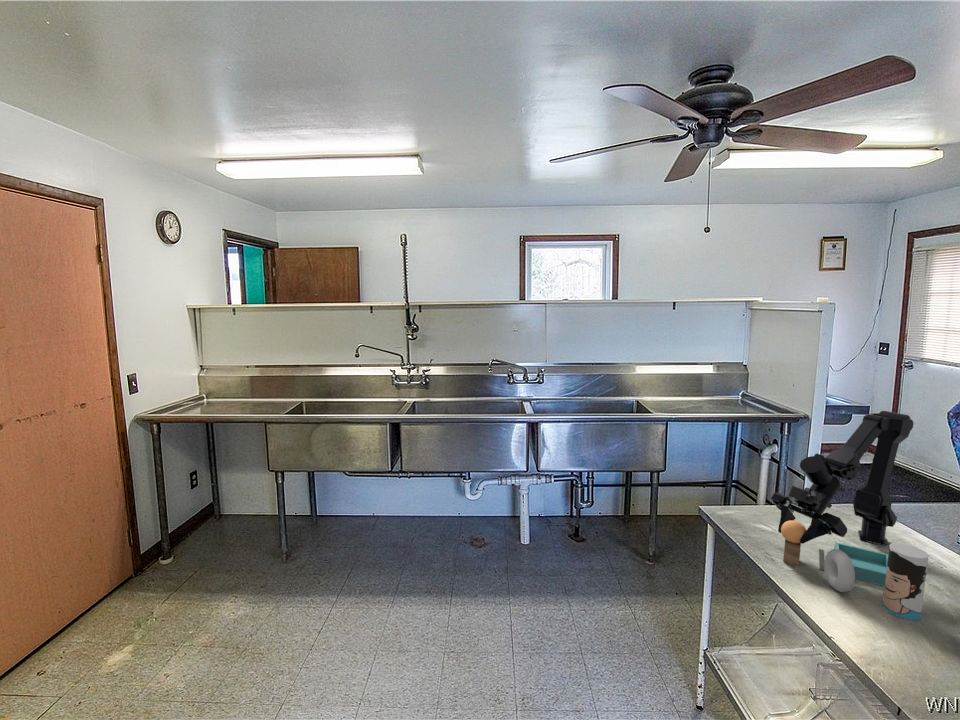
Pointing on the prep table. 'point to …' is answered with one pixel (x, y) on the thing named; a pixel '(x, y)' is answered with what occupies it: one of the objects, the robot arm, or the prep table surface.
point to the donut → (839, 570)
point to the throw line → (821, 559)
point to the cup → (905, 581)
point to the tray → (866, 563)
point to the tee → (792, 552)
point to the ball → (792, 531)
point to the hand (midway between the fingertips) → (789, 537)
